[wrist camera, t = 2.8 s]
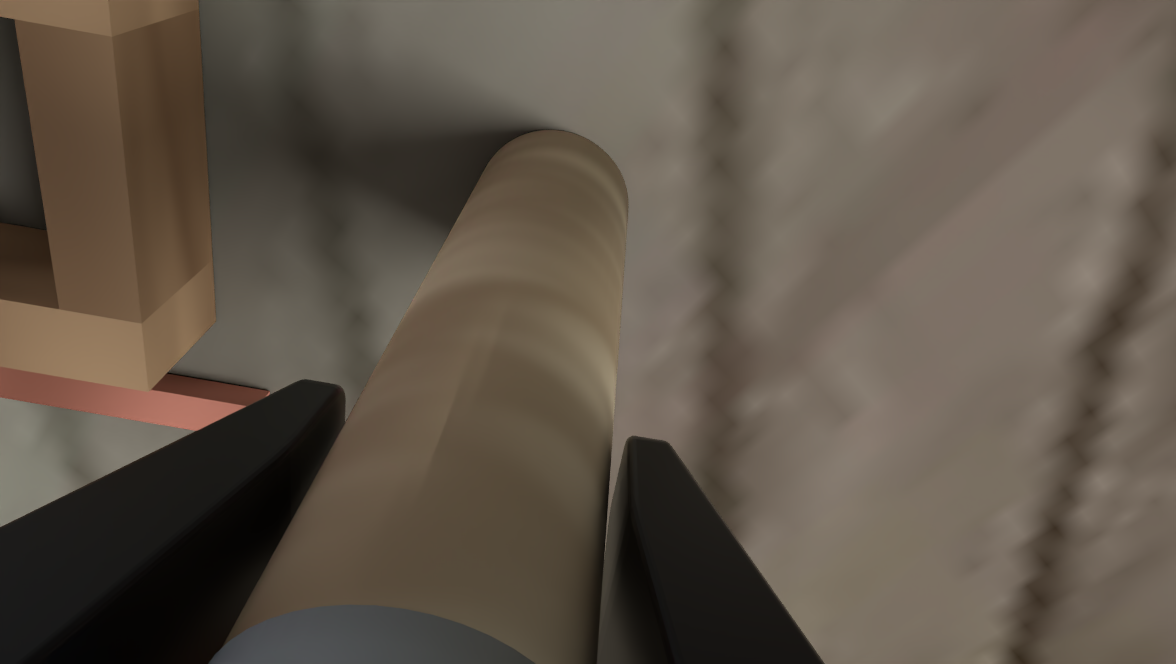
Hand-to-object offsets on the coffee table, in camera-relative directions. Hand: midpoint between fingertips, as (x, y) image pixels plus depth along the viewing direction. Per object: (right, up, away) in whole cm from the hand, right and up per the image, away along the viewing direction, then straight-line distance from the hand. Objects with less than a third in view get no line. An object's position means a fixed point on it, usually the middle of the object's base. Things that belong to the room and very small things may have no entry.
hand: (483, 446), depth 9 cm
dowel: (0, +3, +6) cm, 7 cm away
